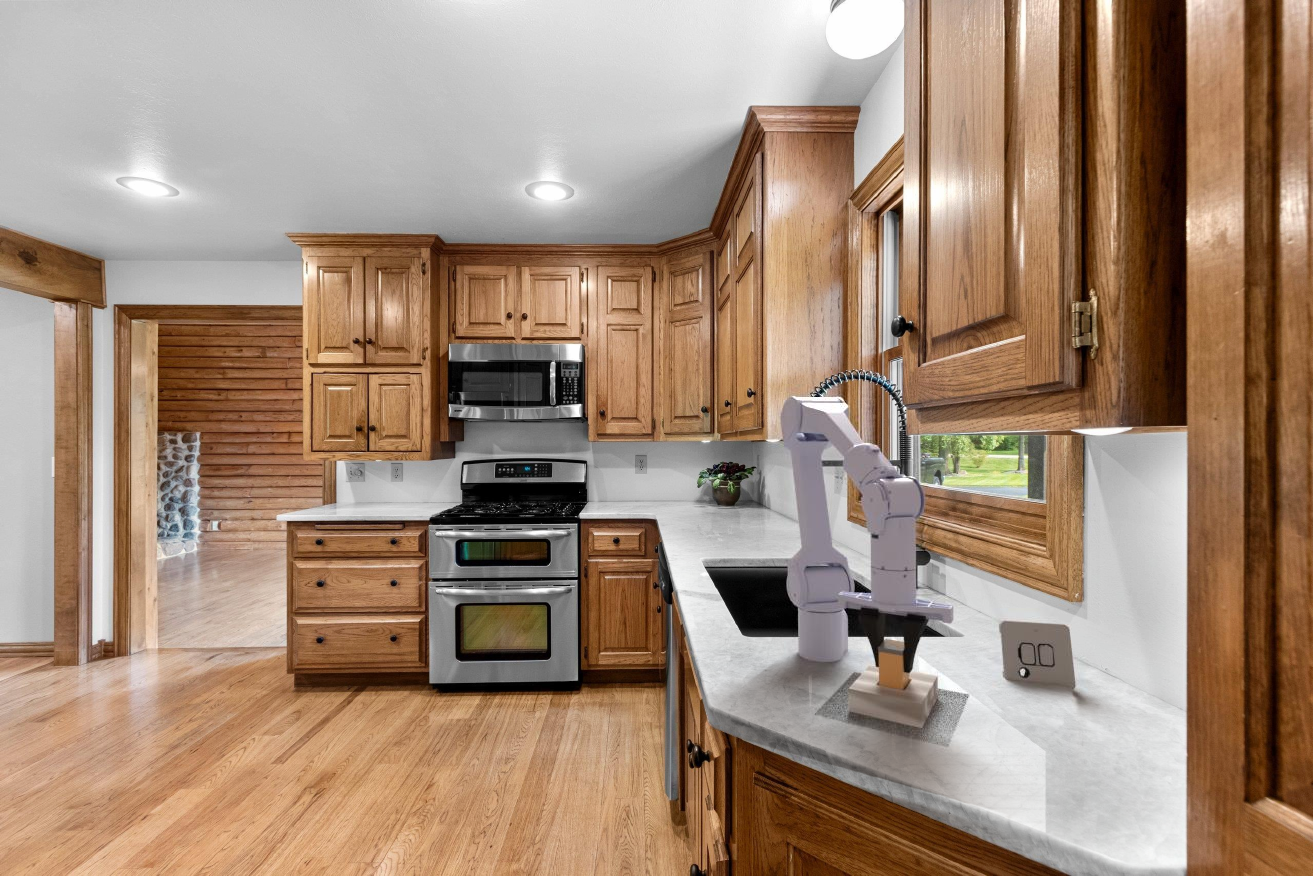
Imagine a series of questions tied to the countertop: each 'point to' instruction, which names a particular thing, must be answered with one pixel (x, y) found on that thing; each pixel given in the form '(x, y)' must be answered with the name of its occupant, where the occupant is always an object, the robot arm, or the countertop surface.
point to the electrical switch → (1037, 652)
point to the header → (896, 702)
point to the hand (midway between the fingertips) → (894, 668)
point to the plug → (892, 665)
